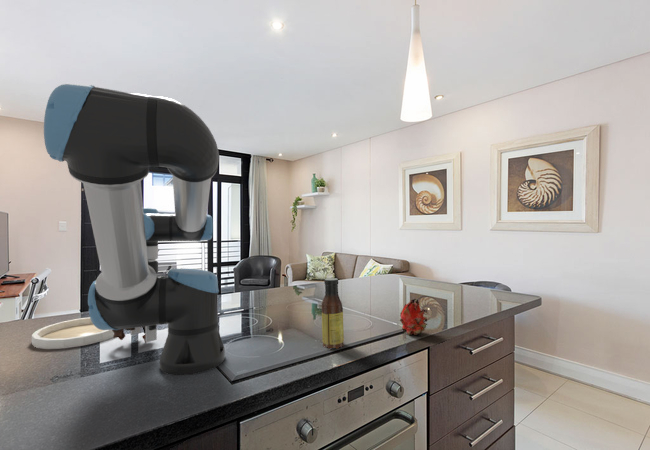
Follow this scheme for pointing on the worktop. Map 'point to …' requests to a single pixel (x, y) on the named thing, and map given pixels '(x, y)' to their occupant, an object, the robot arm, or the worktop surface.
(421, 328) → the dragon fruit
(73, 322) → the shallow round plate
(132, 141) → the robot arm
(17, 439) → the worktop surface
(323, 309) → the sauce bottle
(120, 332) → the brown jagged angular piece
